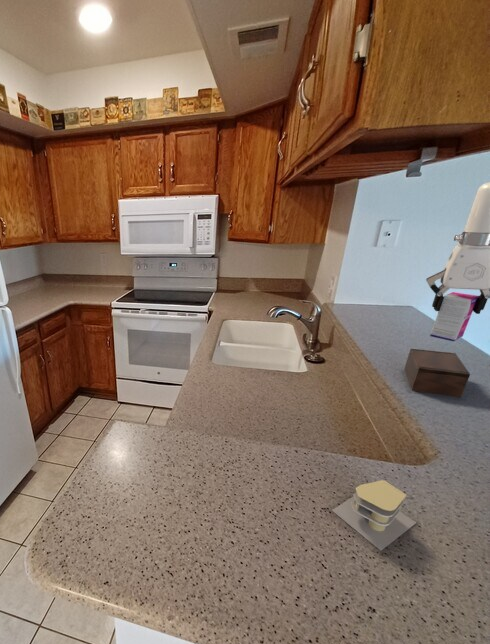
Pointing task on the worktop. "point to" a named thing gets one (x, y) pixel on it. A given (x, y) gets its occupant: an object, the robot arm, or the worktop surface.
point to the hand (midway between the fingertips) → (455, 310)
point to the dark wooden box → (436, 372)
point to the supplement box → (453, 316)
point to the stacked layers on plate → (376, 513)
